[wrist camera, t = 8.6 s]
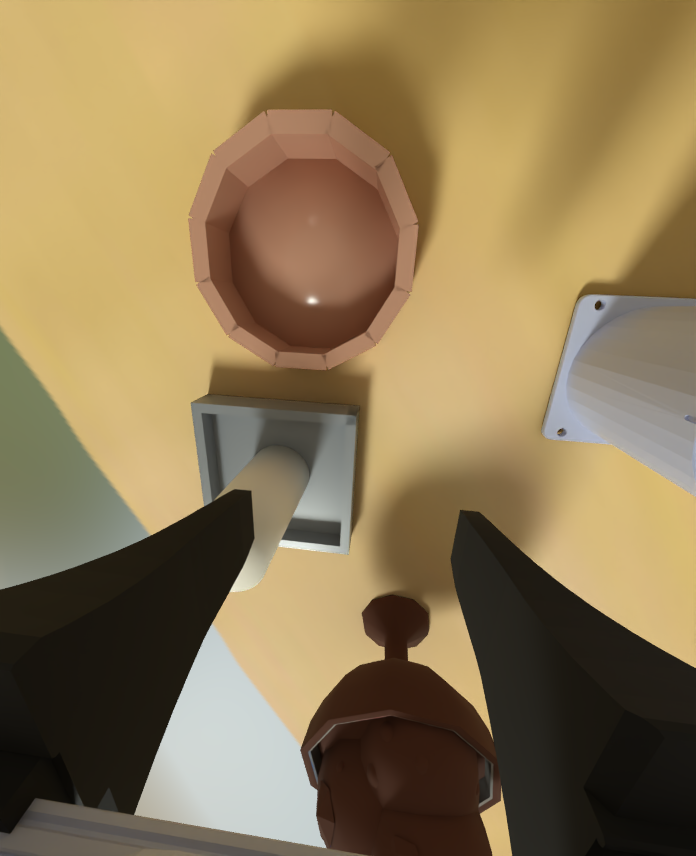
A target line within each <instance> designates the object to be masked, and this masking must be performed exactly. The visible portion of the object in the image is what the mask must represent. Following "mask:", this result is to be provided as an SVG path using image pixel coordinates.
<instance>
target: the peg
mask: <svg viewBox="0 0 696 856" xmlns="http://www.w3.org/2000/svg"><path fill="white" fill-rule="evenodd" d="M308 482H309V469H308V466H307V464H306V462H305V460H304V459H303V458H302V456H301V455H300V454H298V453H297V452H296V451H294V450H293V449H291V448H288V447H285V446H280V445H273V446H268V447H265V448H264V449H262V450H260V451H259V452H258V453H257V454H256V455H255V456H254V457H253V459H252V460H251V461H250V462H249V463H248V464H247V465H246V466H245V467H244V468H243V469H242V470H241V472H240V473H239V474H238V475H237V476H236V477H235V478H234V479H233V480H232V481H231V482H230V483H229V485H228V486H227V487H226V488H225V489H224V490H223V491H222V492H221V493H220V494H219V495H218V496H217V497H216V499H218V498H219V497H221V496H223V495H224V494H226V493H228V492H230V491H232V490H234V489H240V490H250V491H252V506H253V521H254V536H255V539H254V541H253V544H252V547H251V549H250V552H249V554H248V557H247V559H246V562H245V564H244V566H243V568H242V570H241V572H240V574H239V575H238V577H237V579H236V581H235V583H234V585H233V586H232V588H231V590H230V592H240V591H245V590H248V589H251V588H253V587H254V586H256V585H257V584H258V583H259V582H260V581H261V580H262V578H263V577H264V575H265V572H266V570H267V568H268V566H269V564H270V562H271V560H272V558H273V556H274V554H275V552H276V550H277V547H278V545H279V543H280V541H281V539H282V537H283V535H284V533H285V531H286V529H287V527H288V525H289V522H290V520H291V518H292V516H293V514H294V512H295V510H296V508H297V506H298V504H299V502H300V500H301V497H302V495H303V493H304V491H305V489H306V487H307V485H308ZM216 499H215V500H216Z"/></svg>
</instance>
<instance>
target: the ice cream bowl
mask: <svg viewBox="0 0 696 856" xmlns="http://www.w3.org/2000/svg"><path fill="white" fill-rule="evenodd" d="M362 617H363V623H364V629H365V633H366V635H367V636H369V637H370V638H371V639H372V640H373V641H374V642H375V643H377V644H378V645H379V646H383V647H385V660H381V661H376V662H371V663H367V664H363V665H359V666H358V667H356V668H355V669H354V670H352V671H351V672H349V673H348V674H346V675H345V676H344V677H343V678H342V680H341V681H340V682H339V683H338V684H337V685H336V686H335V688H334V689H333V690H332V691H331V692H330V693H329V694H328V696H327V697H326V698H325V699H324V700H323V702H322V703H321V705H320V707H319V708H318V710H317V712H316V713H315V715H314V716H313V718H312V720H311V722H310V725H309V727H308V730H307V733H306V736H305V739H304V741H303V744H302V747H301V750H300V751H301V754H302V757H303V760H304V764H305V767H306V771H307V774H308V777H309V781H310V784H311V786H313V787H314V788H315V789H317V790H318V794H317V796H318V798H317V812H316V816H317V821H318V825H319V830H320V834H321V837H322V839H323V840H324V842H325V845H326V847H327V849H333V850H339V851H344V852H350V853H356V854H362V855H367V856H492V851H491V848H490V844H489V841H488V837H487V833H486V830H485V827H484V824H483V822H482V819H481V816H480V813H482V812H483V811H485V810H487V809H488V808H490V807H491V806H493V805H495V804H496V803H498V802H500V801H501V780H500V774H499V768H498V762H497V757H496V751H495V746H494V742H493V739H492V737H491V734H490V732H489V730H488V728H487V726H486V725H485V723H484V722H483V720H482V719H481V717H480V716H479V714H478V713H477V711H476V709H475V708H474V706H473V705H472V704H470V703H469V702H468V701H467V700H466V699H465V698H464V697H463V696H461V695H460V694H459V693H458V692H457V691H456V690H455V689H454V688H452V687H451V686H450V685H449V684H448V683H447V682H446V681H445V680H444V679H442V678H441V677H440V676H439V675H438V674H436V673H435V672H434V671H433V670H432V669H430V668H429V667H427V666H424V665H421V664H418V663H414V662H409V661H408V649H407V648H411V647H415V646H417V645H418V644H419V643H420V642H421V641H422V640H423V639H424V638H425V637H426V636H427V635H428V632H429V619H428V612H426V611H425V610H424V609H423V608H422V607H421V606H420V605H419V604H418V603H417V602H416V601H415V600H413V599H408V598H404V597H400V596H395V595H390V596H386V597H382V598H378V599H375V600H372V601H371V602H370V604H369V605H368V606H367V607H366V609H365V610H364V611H363V612H362Z"/></svg>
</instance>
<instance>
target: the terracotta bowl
mask: <svg viewBox="0 0 696 856" xmlns="http://www.w3.org/2000/svg"><path fill="white" fill-rule="evenodd" d="M213 151H214V153H215V155H216V156H214V155H213V154H212V153H211V156H210V158H209V161H208V164H207V166H206V169H205V172H204V175H203V177H202V180H201V183H200V186H199V188H198V191H197V194H196V197H195V199H194V202H193V205H192V207H191V210H190V213H189V216H191V217H192V218H194V219H190V218H188V221H189V230H190V239H191V248H192V257H193V266H194V275H195V282H200V283H198V284H197V287H198V288H199V290H200V292H201V293H202V295H203V297H204V298H205V300H206V302H207V303H208V305H209V307H210V308H211V310H212V312H213V313H214V315H215V317H216V318H217V320H218V322H219V323H220V325H221V327H222V328H223V330H224V332H225V333H226V335H229V334H230V335H229V338H231V339H232V340H234V341H235V342H237V343H238V344H240V345H242V346H243V347H245V348H246V349H248V350H249V351H251V352H252V353H254V354H255V355H257V356H258V357H260V358H262V359H263V360H265V361H266V362H268V363H269V364H271V365H272V366H274V365H276V367H285V368H299V369H314V370H327V369H331V368H333V367H335V366H337V365H339V364H341V363H343V362H345V361H347V360H349V359H351V358H353V357H355V356H357V355H359V354H361V353H363V352H365V351H367V350H369V349H371V348H372V347H374V346H376V343H377V344H378V343H379V341H380V340H381V338H382V337H383V335H384V334H385V332H386V331H387V329H388V328H389V326H390V325H391V323H392V322H393V320H394V319H395V317H396V316H397V314H398V313H399V311H400V310H401V308H402V307H403V305H404V304H405V302H406V301H407V299H408V298H409V296H410V294H409V293H410V292H412V283H413V274H414V265H415V255H416V246H417V236H418V227H419V225H417V223H418V219H417V217H416V214H415V212H414V209H413V207H412V204H411V202H410V199H409V197H408V194H407V192H406V189H405V186H404V184H403V181H402V179H401V176H400V174H399V171H398V169H397V166H396V164H395V161H394V159H393V156H392V155H391V156H390V152H389V151H388V150H387V149H385V148H384V147H383V146H381V145H380V144H379V143H377V142H376V141H375V140H373V139H372V138H371V137H369V136H368V135H367V134H365V133H364V132H363V131H361V130H360V129H359V128H357V127H356V126H355V125H354V124H352V123H351V122H350V121H348V120H347V119H346V118H344V117H343V116H342V115H340V114H339V113H338V112H336V111H335V112H334V114H333V111H332V109H279V110H267V115H266V113H265V111H263V112H262V113H261V114H259V115H258V116H257V117H255V118H254V119H253V120H252V121H250V122H249V123H248V124H247V125H245V126H244V127H243V128H241V129H240V130H239V131H238V132H236V133H235V134H234V135H232V136H231V137H230V138H229V139H227V140H226V141H225V142H224V143H222V144H221V145H220V146H218V147H217V148H216V149H215V150H213Z"/></svg>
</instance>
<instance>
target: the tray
mask: <svg viewBox="0 0 696 856" xmlns="http://www.w3.org/2000/svg"><path fill="white" fill-rule="evenodd" d="M191 409H192V416H193V424H194V432H195V439H196V447H197V455H198V462H199V470H200V478H201V485H202V493H203V501H204V506H206V505H207V504H209V503H211V502H212V501H214V500H215V499H216V497H217V496H218V495H219V494H220V493H221V492H222V491H223V490H224V489H225V488H226V487H227V486H228V485H229V483H230V482H231V481H232V480H233V479H234V478H235V477H236V476H237V475H238V474H239V473H240V472H241V470H242V469H243V468H244V467H245V466H246V465H247V464H248V463H249V462H250V461H251V460H252V459H253V457H254V456H255V455H256V454H257V453H258V452H259V451H260V450H262V449H264V448H265V447H268V446H273V445H280V446H285V447H288V448H291V449H293V450H294V451H296V452H297V453H298V454H300V455H301V456H302V458H303V459H304V460H305V462H306V464H307V466H308V469H309V482H308V485H307V487H306V489H305V491H304V493H303V495H302V497H301V500H300V502H299V504H298V506H297V508H296V510H295V512H294V514H293V516H292V518H291V520H290V522H289V525H288V527H287V529H286V531H285V533H284V535H283V537H282V539H281V541H280V543H279V545H278V546H279V547H288V548H296V549H305V550H313V551H322V552H330V553H339V554H347V555H349V548H350V542H351V535H352V519H353V502H354V486H355V469H356V453H357V436H358V420H359V406H355V405H342V404H329V403H316V402H303V401H290V400H277V399H264V398H250V397H237V396H224V395H211V394H207V395H205V396H203V397H201V398H199V399H197V400H195V401H193V402H191Z"/></svg>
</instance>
